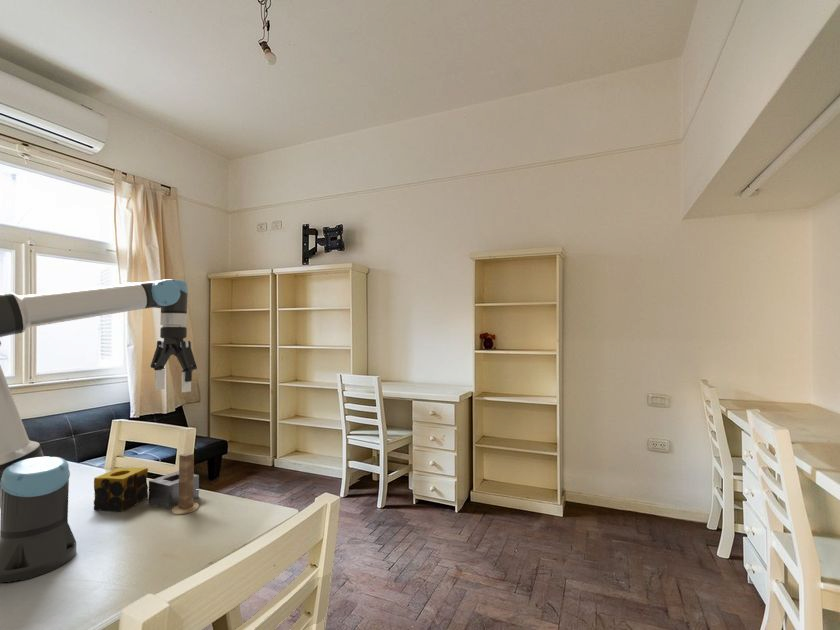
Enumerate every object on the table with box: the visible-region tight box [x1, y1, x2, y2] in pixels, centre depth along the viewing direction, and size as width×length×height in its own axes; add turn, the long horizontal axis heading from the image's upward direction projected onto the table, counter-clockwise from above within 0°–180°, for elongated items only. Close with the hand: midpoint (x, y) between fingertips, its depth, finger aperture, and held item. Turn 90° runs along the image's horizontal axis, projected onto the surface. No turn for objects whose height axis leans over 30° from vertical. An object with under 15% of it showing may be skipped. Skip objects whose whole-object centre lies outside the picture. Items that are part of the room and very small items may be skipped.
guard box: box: [148, 470, 200, 510], centre depth 131 cm, size 10×10×7 cm
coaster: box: [171, 502, 199, 516], centre depth 124 cm, size 7×7×1 cm
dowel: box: [178, 452, 195, 510], centre depth 125 cm, size 3×3×16 cm
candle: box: [93, 466, 149, 512], centre depth 128 cm, size 10×10×10 cm
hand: (172, 390), depth 135 cm, fingers open, 13 cm apart
